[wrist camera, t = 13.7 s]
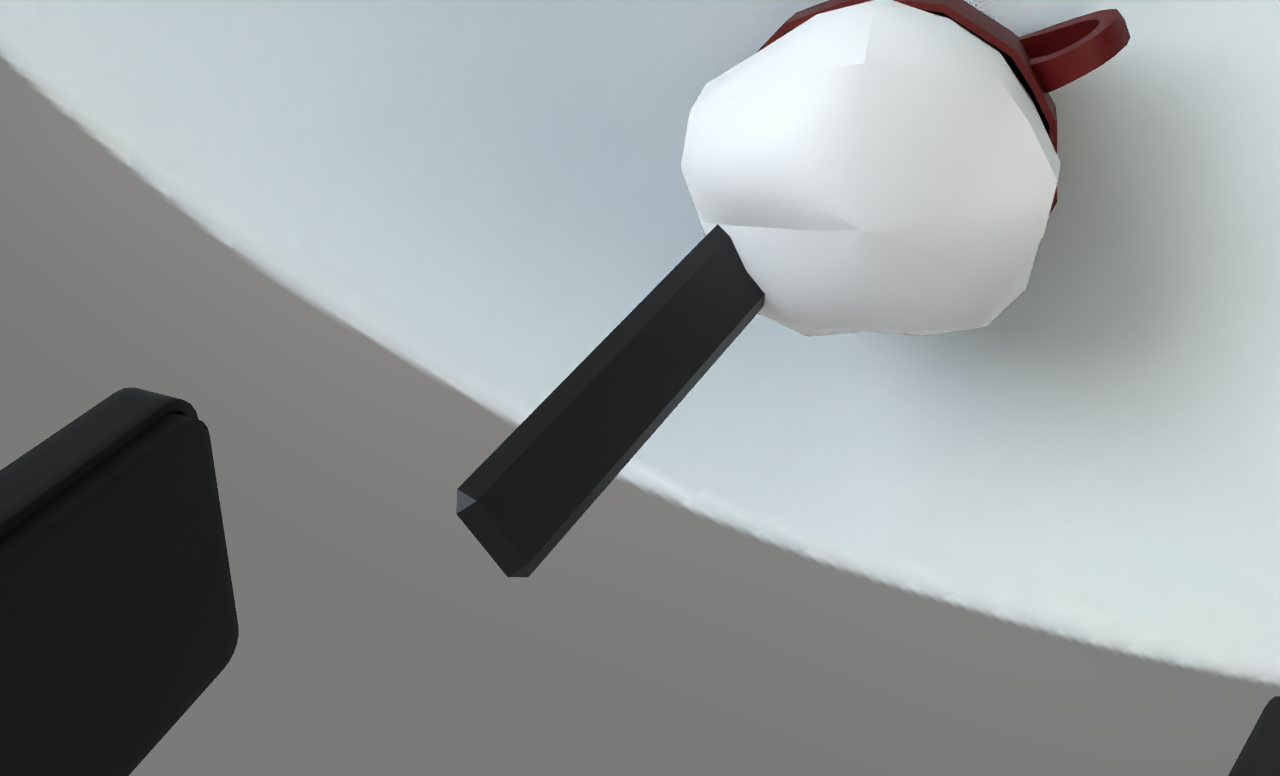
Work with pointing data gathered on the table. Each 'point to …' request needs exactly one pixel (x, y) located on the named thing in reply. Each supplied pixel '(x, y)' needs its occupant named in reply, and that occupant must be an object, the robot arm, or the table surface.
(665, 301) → the cocoa
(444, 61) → the table surface
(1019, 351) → the table surface
